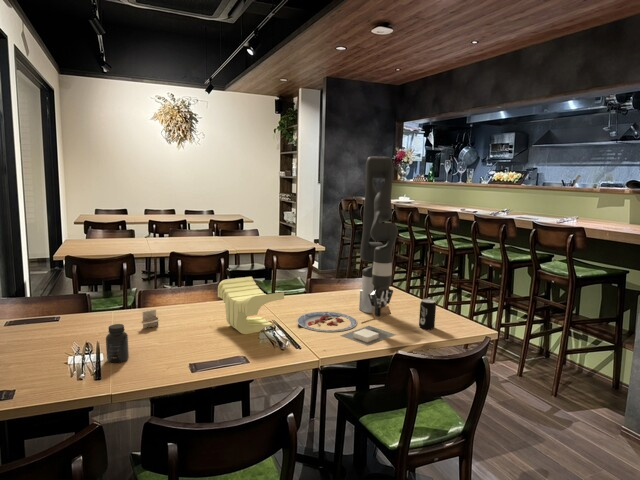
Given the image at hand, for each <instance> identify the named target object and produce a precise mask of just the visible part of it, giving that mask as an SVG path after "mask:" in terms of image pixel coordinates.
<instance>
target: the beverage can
mask: <svg viewBox="0 0 640 480" xmlns="http://www.w3.org/2000/svg"><path fill="white" fill-rule="evenodd" d="M436 311H437V304H436V300H435V299H432V298H422V299H421V301H420V304H419V318H418V320H419V321H418V326H419V327H420V328H421V329H422V330H426V331H427V330H433V329H434V328H435V324H436Z"/></svg>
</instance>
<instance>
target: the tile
mask: <svg viewBox="0 0 640 480" xmlns="http://www.w3.org/2000/svg"><path fill="white" fill-rule="evenodd" d="M353 338H355V339H358V340H361V341H363V342H366V343H368V342H370V341H373V340H376V339H378V338H379V333H376V332H373V331H370V330H367V329H363V330H360V331H357V332H354V333H353Z"/></svg>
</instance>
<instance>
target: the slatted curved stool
mask: <svg viewBox="0 0 640 480" xmlns="http://www.w3.org/2000/svg"><path fill="white" fill-rule="evenodd" d="M217 298H220V299H222V300H223V303H224V304H225V305H224V308H225V314H226V316H225V317H226V322H227V324H228V325H230V326H231V327H232V328H234V329H235V330H237V332H239V334H240V333H241V334H242V335H247V334H255V333H259V332H261V331H260V330H261V329H263V328H265V327H269V326H273V325H274V324H273V323H272V322H269V321H268V320H267V319H266V318H264V317H263V316H257V315H258V313H259V310H260V309H261V307H262V306H264V305H266V304H268V303H271V302H274V301H275V302H277V301H281V300H285V291H283V292H281V291H280V292H276V293H267V294H266V293H264V291H263V290H262V289H260V287H259V285H257V283H256V282H255V280H254V278H253V276H245V277H235V278H227V279H223V280H221V281H220V282H219V284H218V286H217ZM253 316H254V317H253ZM255 316H257V317H255ZM273 327H274V326H273Z"/></svg>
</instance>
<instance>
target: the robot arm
mask: <svg viewBox="0 0 640 480" xmlns="http://www.w3.org/2000/svg"><path fill="white" fill-rule="evenodd" d="M393 164H394V163H393V159H392V158H391V157H390V156H373V155H371V156H368V157H367V159H366V163H365V191H364V192H365V193H364V194H365V195H364V205H363V216H362V217H363V219H362V220H363V221H362V223H363V225H362V235H361V242H360V250H359V256H360V260H361V261H362V262H371V263H372V262H373V265H370V266H368V267H365V268H363V269H362V274H361V275H362V276H361V278H362V279H361V280H362V281H361V289H360V290H359V307H358V308H359V310H360V311H361V312H363V313H366V314H373V313H372V311H374V310H375V316H377V317H380V311H381V308H382V307H385V306H388V305H389V304H390V302H391V299H392V297H393V294H394V290H393V289H391V288H390V286H391V285H392V275H393V274H392V273H393V265H392V263H393V249H394V246H395V243H396V240H397V238H398V234H399V228H398V227H397V225H396V224H395V223H393V222H389V221H390V220H391V219H392V217H393V213H392V212H393V211H392V210H393V209H392V192H393V191H392V189H393V178H394V177H393V172H394V171H393V170H394V165H393ZM374 179H378V180H379V179H384V182H383V185H382V186H381V188H380V189H379V191H377V188H376V186H375V184H374ZM370 239H372V240H373V241H370ZM379 241H380V242H379ZM383 242H386V244H383Z"/></svg>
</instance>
